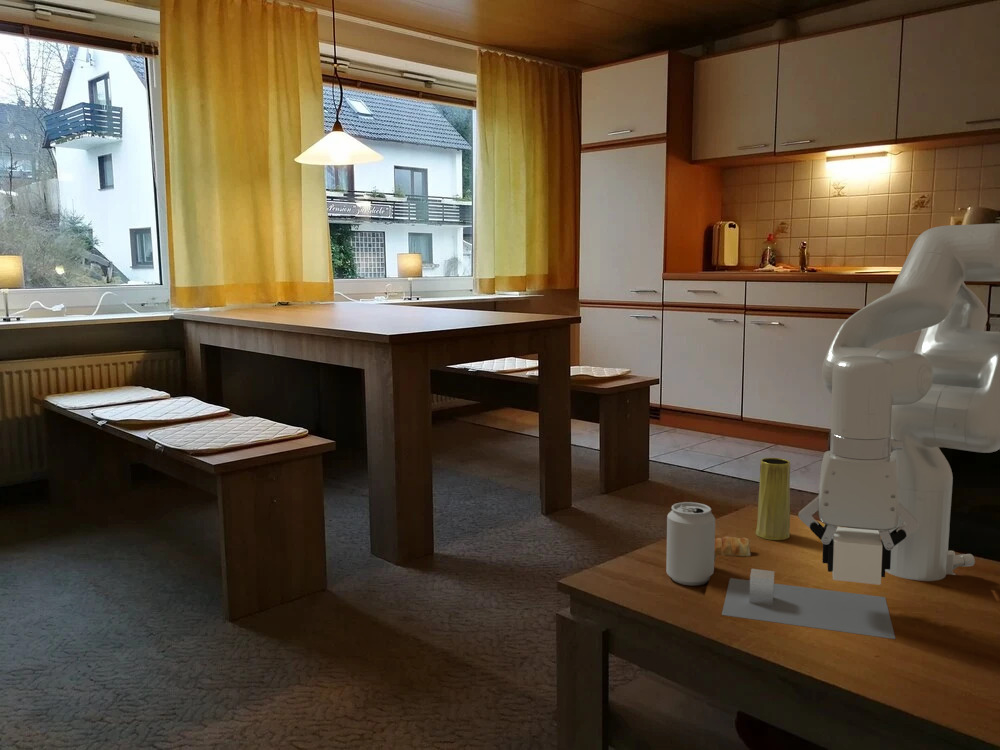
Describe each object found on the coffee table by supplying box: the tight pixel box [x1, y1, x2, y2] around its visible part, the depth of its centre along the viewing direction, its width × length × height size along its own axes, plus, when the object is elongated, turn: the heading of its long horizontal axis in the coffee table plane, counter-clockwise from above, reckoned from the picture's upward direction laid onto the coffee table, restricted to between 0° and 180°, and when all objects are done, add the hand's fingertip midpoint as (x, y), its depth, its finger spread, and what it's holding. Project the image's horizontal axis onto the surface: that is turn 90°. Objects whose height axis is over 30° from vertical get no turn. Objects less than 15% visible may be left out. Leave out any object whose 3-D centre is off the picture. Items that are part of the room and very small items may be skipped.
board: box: [721, 577, 896, 640], centre depth 114 cm, size 22×14×2 cm, turn 69°
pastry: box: [714, 536, 752, 562], centre depth 137 cm, size 9×7×4 cm
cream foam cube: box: [831, 527, 882, 586], centre depth 111 cm, size 6×6×6 cm
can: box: [665, 501, 716, 586], centre depth 127 cm, size 8×8×12 cm
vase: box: [755, 457, 791, 541], centre depth 147 cm, size 6×6×14 cm
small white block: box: [749, 568, 775, 606], centre depth 115 cm, size 3×3×4 cm
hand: (855, 569), depth 111 cm, fingers closed on cream foam cube, 5 cm apart
